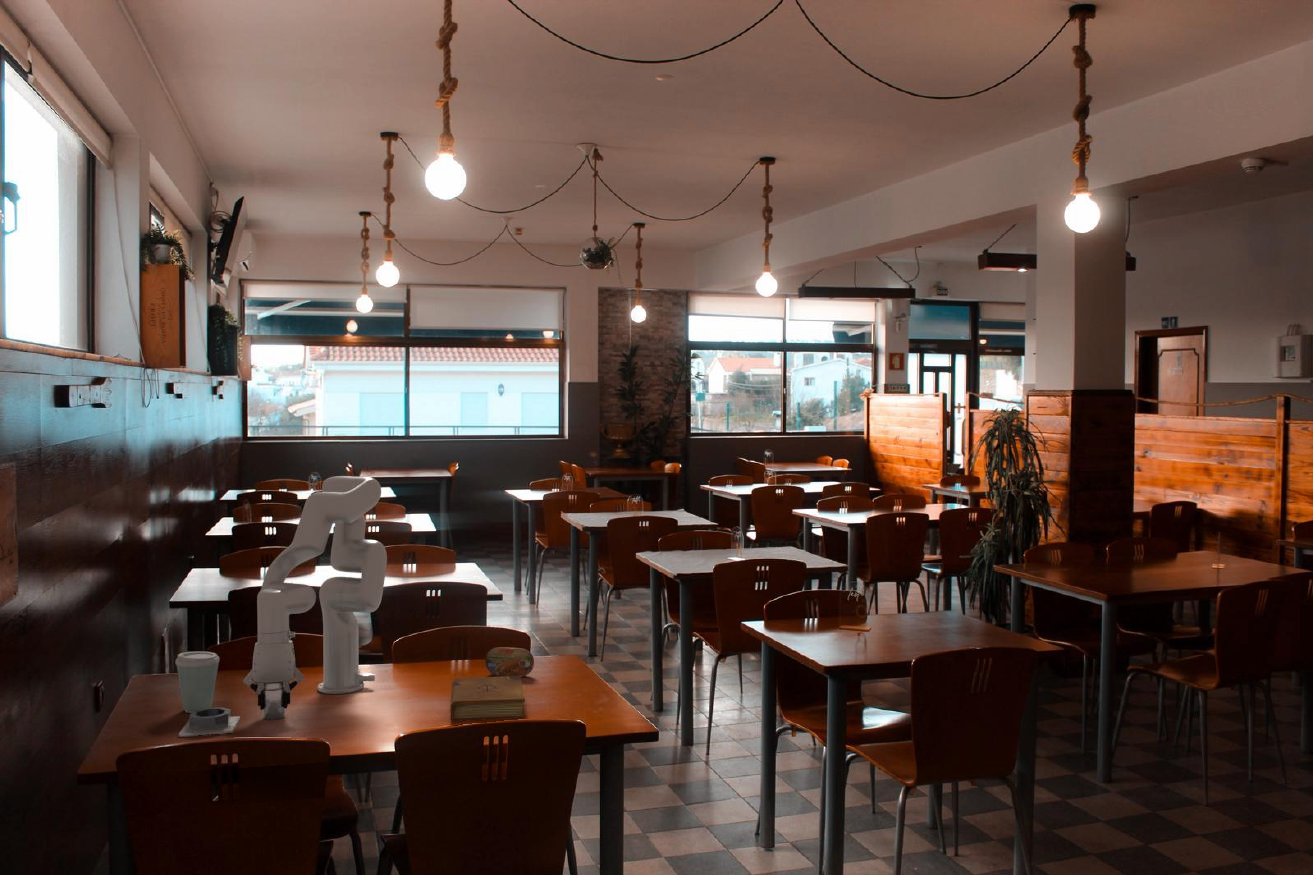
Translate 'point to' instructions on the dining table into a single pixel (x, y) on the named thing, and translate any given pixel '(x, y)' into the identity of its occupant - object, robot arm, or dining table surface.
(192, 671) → the disposable coffee cup
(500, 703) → the diary
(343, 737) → the dining table surface
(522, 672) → the tin
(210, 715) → the ring jig
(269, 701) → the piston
